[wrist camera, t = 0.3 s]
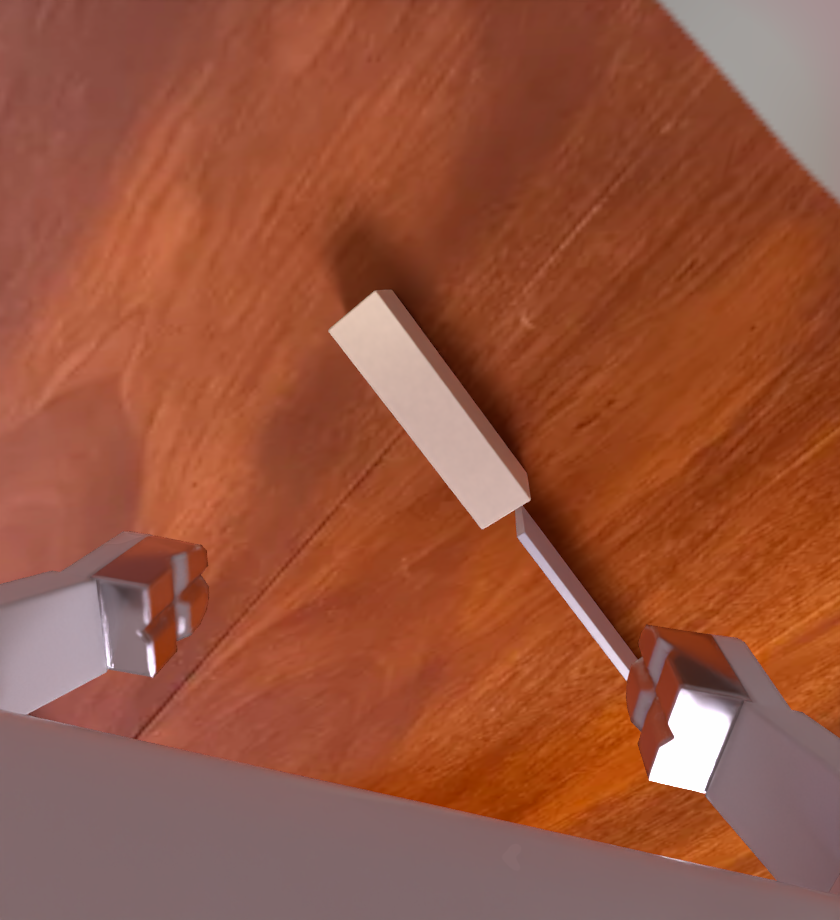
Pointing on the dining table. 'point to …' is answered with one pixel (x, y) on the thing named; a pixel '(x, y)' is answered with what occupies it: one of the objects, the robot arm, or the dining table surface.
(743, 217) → the dining table surface
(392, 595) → the dining table surface
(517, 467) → the butter knife
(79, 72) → the dining table surface
